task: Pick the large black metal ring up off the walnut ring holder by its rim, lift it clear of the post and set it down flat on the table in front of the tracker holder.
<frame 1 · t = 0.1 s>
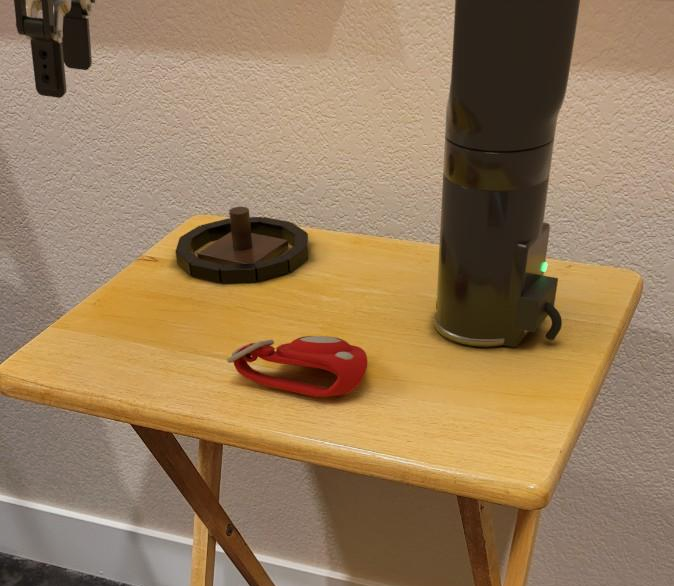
hand: (65, 81, 72), 22 cm above the table, tool pointing down, fingers open, 8 cm apart
ring: (243, 255, 101), on the table
tracker holder: (303, 376, 81), on the table
ring holder: (243, 255, 101), on the table
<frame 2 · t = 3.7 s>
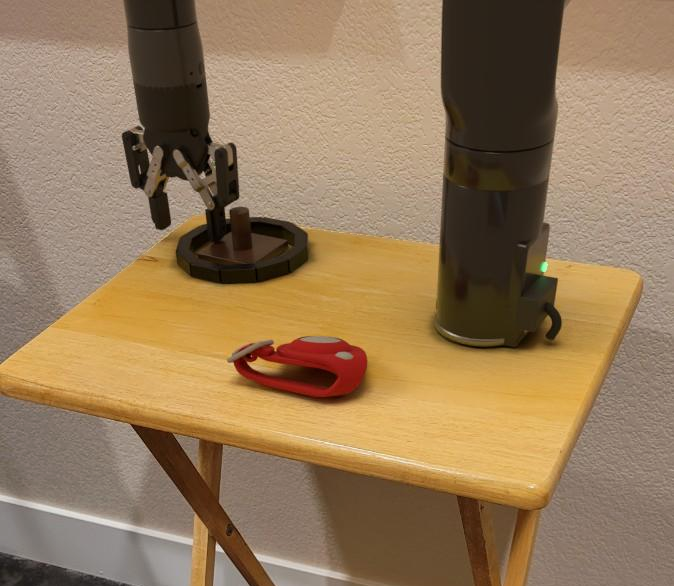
hand: (190, 233, 102), 1 cm above the table, tool pointing down, fingers open, 7 cm apart
nothing on the table moved.
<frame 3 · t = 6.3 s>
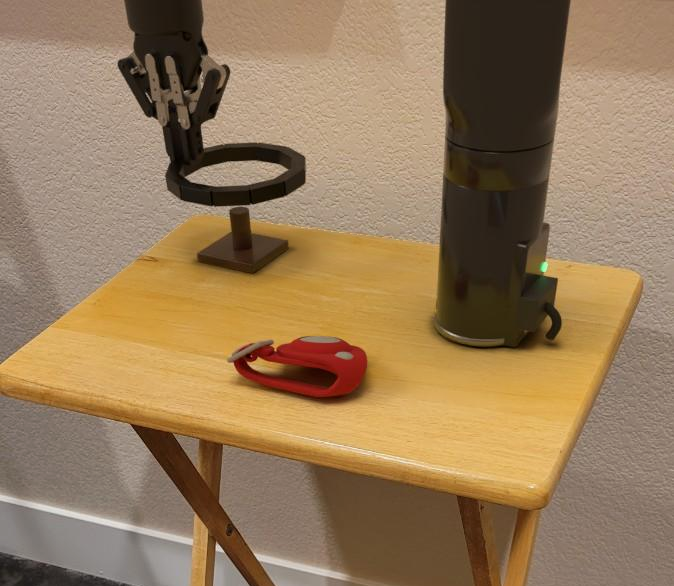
hand: (186, 161, 97), 9 cm above the table, tool pointing down, fingers closed on ring, 1 cm apart
ring: (237, 180, 95), point 8 cm above the table, touching gripper
everything else where it was.
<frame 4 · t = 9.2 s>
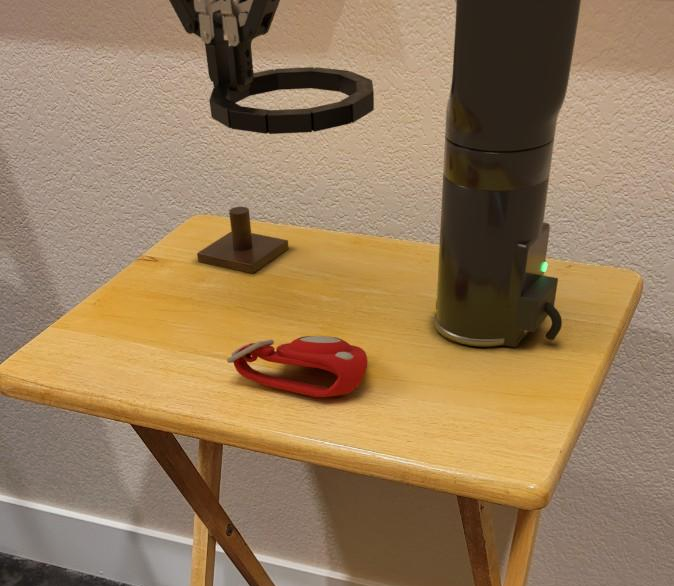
hand: (232, 87, 83), 19 cm above the table, tool pointing down, fingers closed on ring, 1 cm apart
ring: (293, 107, 81), point 18 cm above the table, touching gripper
everything else where it was.
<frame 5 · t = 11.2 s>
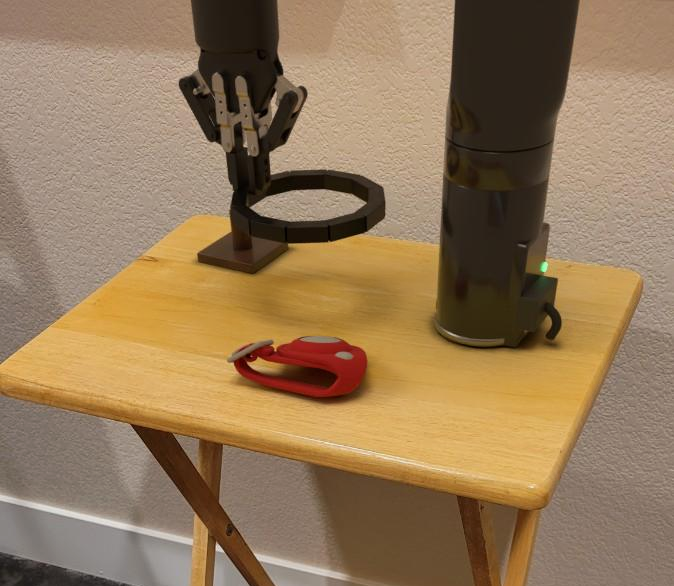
hand: (250, 190, 88), 10 cm above the table, tool pointing down, fingers closed on ring, 1 cm apart
ring: (308, 212, 86), point 9 cm above the table, touching gripper
everything else where it was.
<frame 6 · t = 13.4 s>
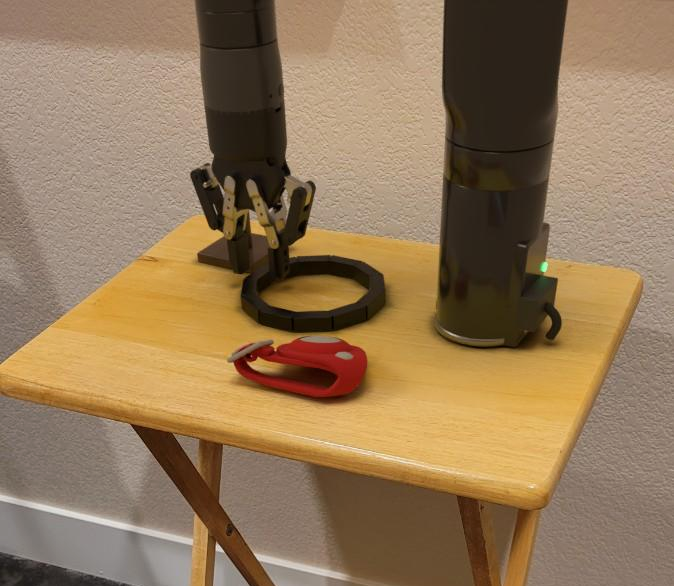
hand: (260, 274, 94), 1 cm above the table, tool pointing down, fingers open, 4 cm apart
ring: (313, 298, 92), on the table
everything else where it was.
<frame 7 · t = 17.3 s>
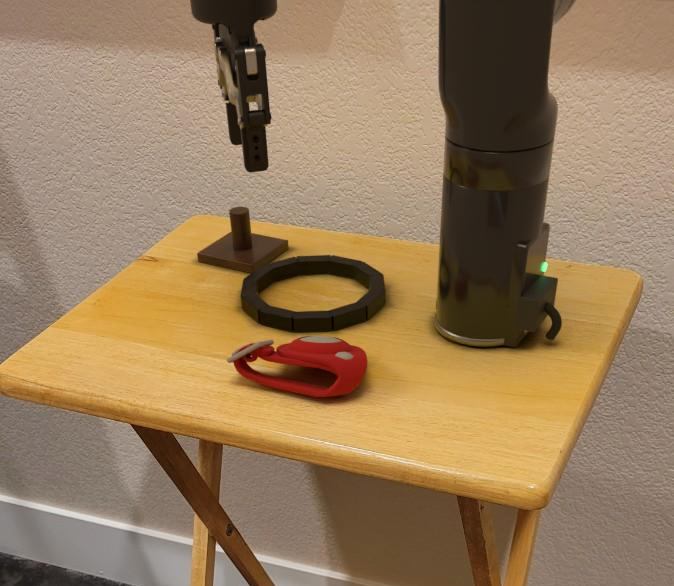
hand: (248, 156, 85), 13 cm above the table, tool pointing down, fingers open, 8 cm apart
nothing on the table moved.
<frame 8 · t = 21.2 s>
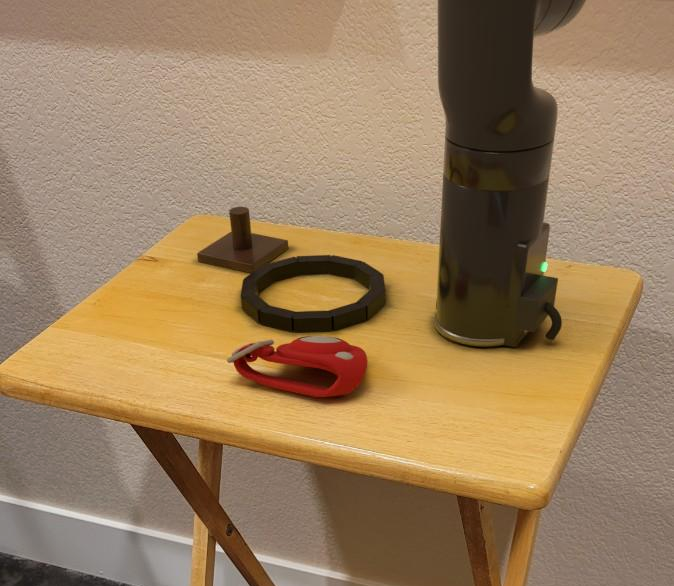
nothing on the table moved.
at the end: ring inside the target area on the table beside the tracker holder (0.1 cm from its centre), on the table; ring touching table; ring tilted 0° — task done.
